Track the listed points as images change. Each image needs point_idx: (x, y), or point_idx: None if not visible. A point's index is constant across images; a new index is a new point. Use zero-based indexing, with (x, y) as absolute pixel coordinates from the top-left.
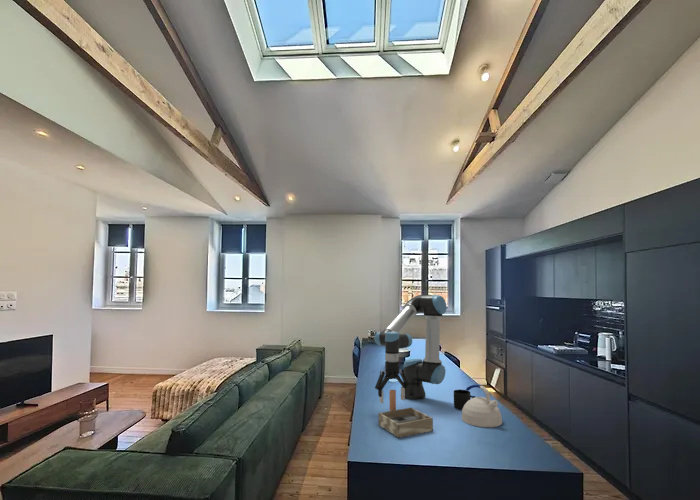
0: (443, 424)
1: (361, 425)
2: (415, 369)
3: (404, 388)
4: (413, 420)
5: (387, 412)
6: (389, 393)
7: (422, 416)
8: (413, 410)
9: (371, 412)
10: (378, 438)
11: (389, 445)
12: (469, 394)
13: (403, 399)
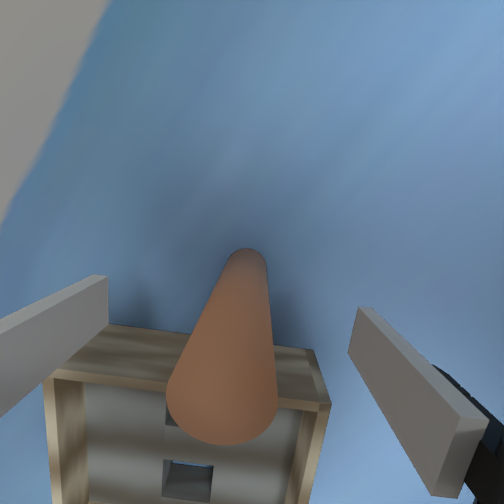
0: (387, 476)
1: (10, 270)
2: None
3: (446, 487)
4: (242, 456)
5: (111, 384)
6: (184, 348)
7: (292, 498)
8: (309, 435)
9: (182, 101)
10: (20, 433)
11: (30, 496)
12: None
13: (351, 356)
